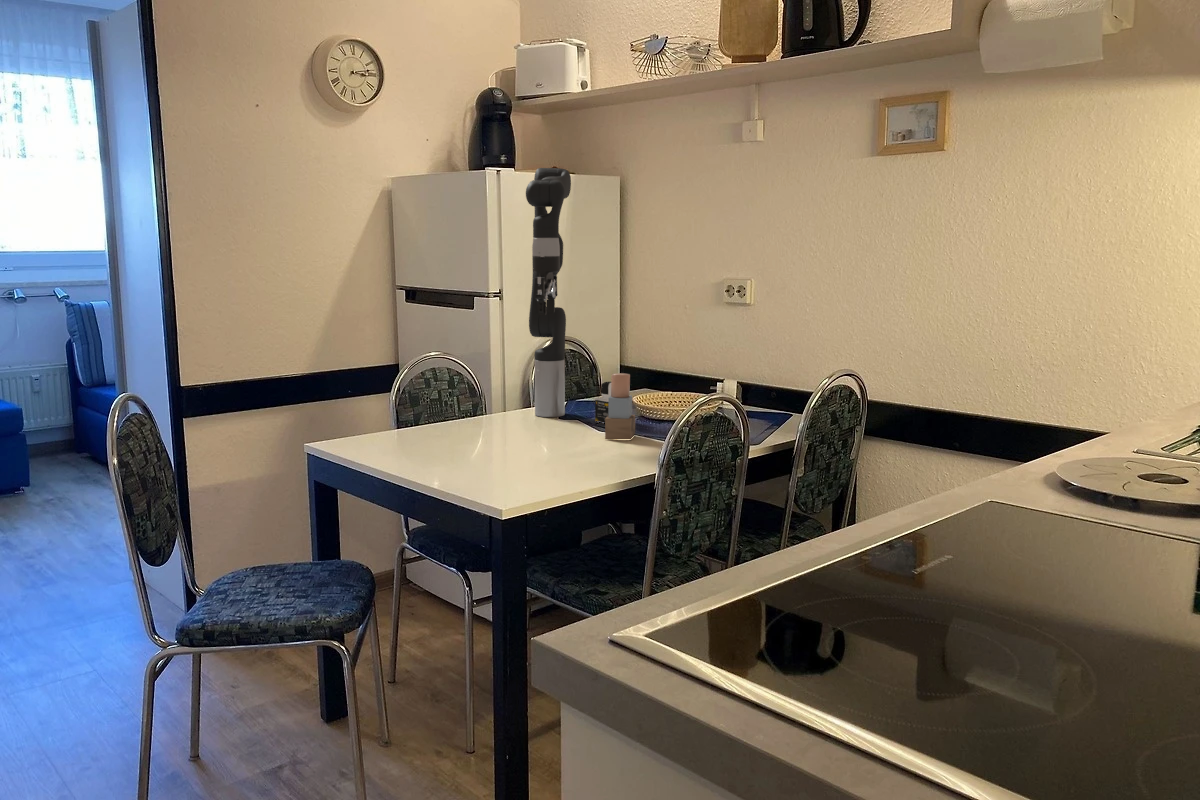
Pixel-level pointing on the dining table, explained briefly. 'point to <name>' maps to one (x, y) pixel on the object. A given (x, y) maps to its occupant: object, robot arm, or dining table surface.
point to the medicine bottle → (603, 403)
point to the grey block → (620, 407)
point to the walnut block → (619, 428)
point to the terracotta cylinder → (620, 385)
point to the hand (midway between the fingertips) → (546, 313)
